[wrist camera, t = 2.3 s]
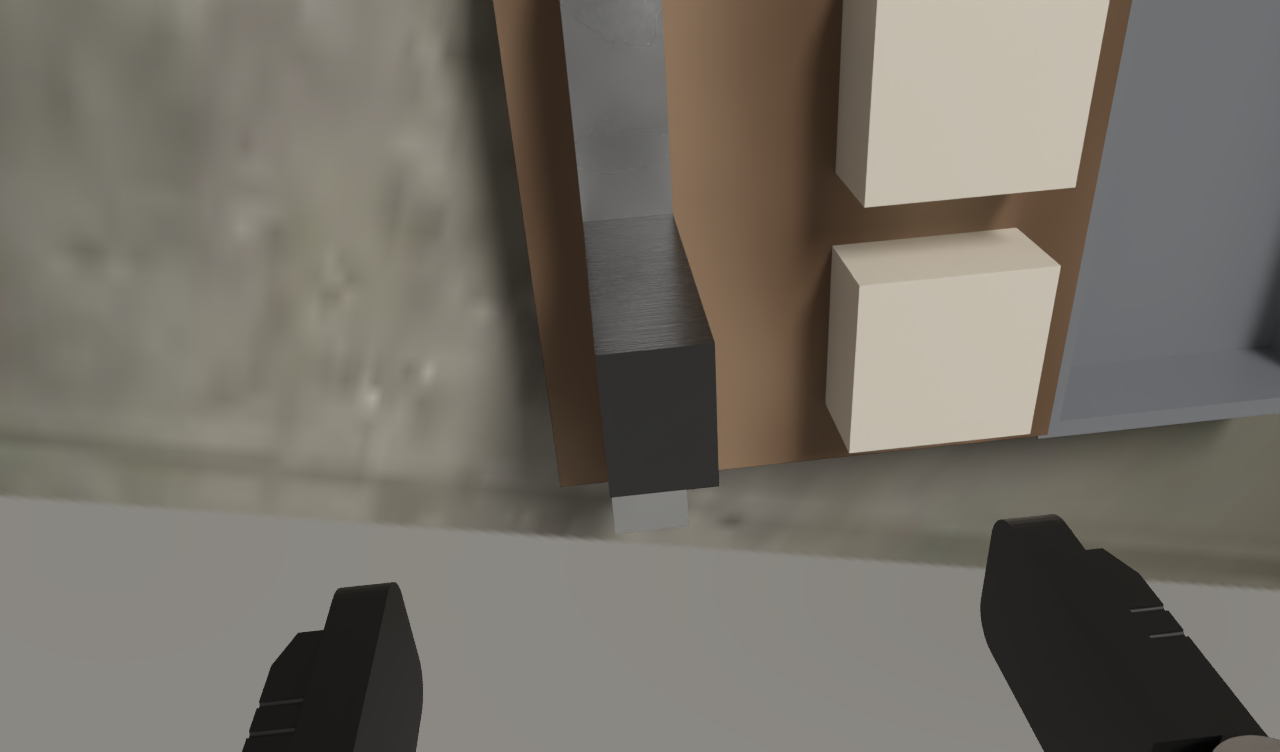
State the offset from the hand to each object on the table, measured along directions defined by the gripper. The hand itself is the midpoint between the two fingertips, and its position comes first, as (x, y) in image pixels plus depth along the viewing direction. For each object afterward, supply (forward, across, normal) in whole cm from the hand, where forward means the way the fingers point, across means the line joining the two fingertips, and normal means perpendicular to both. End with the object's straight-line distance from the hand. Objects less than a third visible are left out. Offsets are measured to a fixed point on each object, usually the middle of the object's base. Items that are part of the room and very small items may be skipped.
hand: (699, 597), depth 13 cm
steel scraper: (+13, 0, 0) cm, 13 cm away
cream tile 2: (+13, -8, +3) cm, 16 cm away
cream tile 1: (+13, -8, -4) cm, 16 cm away
